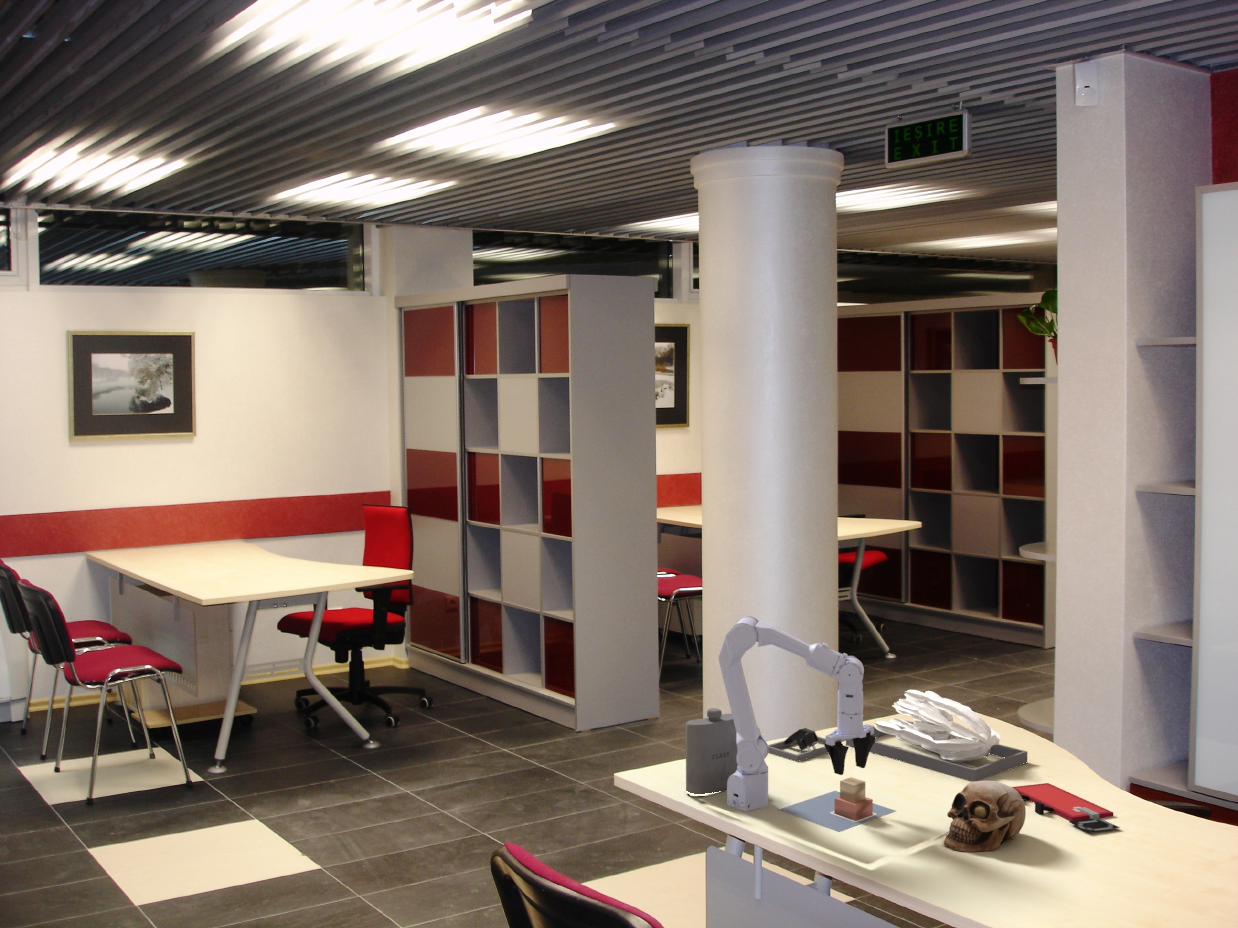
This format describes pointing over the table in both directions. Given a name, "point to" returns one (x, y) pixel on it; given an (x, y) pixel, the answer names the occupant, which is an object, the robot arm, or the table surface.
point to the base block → (854, 808)
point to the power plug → (803, 739)
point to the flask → (710, 752)
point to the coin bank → (984, 816)
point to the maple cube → (852, 789)
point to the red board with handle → (1066, 806)
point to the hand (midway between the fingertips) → (849, 770)
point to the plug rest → (776, 751)
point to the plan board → (829, 812)
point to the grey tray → (1010, 761)
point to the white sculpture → (941, 727)
